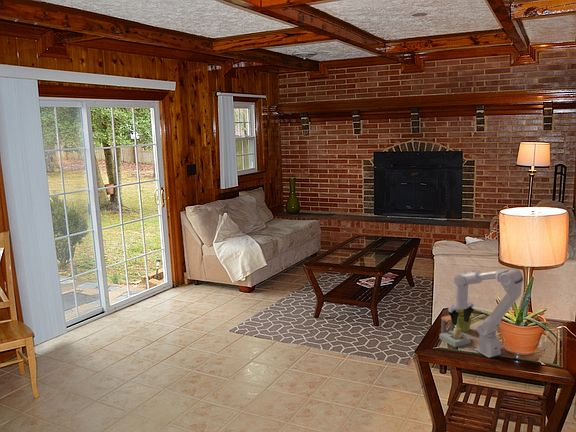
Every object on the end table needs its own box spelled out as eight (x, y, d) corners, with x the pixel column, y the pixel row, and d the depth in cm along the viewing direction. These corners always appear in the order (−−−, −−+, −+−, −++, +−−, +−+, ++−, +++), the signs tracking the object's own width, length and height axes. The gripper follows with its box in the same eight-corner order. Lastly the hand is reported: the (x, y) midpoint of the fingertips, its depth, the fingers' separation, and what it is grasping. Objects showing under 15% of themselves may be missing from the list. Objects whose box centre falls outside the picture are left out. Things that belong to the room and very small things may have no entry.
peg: (460, 340, 259) (460, 327, 258) (461, 343, 256) (461, 330, 254) (452, 340, 260) (453, 327, 258) (453, 343, 256) (454, 330, 255)
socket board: (470, 342, 256) (470, 338, 256) (454, 347, 252) (454, 342, 252) (454, 334, 266) (454, 330, 266) (439, 338, 262) (439, 333, 262)
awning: (457, 336, 264) (458, 317, 262) (446, 338, 261) (447, 320, 259) (451, 332, 268) (451, 314, 266) (440, 335, 265) (441, 317, 263)
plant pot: (475, 333, 267) (475, 317, 265) (456, 333, 267) (457, 318, 265) (469, 325, 276) (469, 310, 274) (451, 326, 276) (452, 311, 275)
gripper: (466, 292, 260) (465, 317, 263) (444, 297, 254) (443, 323, 257) (477, 296, 254) (475, 322, 256) (454, 301, 248) (453, 328, 250)
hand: (460, 323), depth 256 cm, fingers open, 7 cm apart
